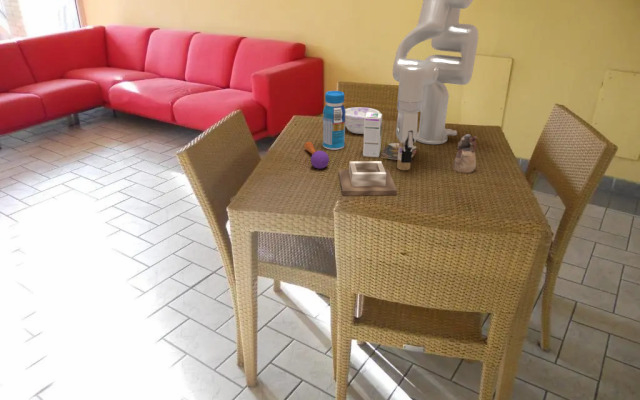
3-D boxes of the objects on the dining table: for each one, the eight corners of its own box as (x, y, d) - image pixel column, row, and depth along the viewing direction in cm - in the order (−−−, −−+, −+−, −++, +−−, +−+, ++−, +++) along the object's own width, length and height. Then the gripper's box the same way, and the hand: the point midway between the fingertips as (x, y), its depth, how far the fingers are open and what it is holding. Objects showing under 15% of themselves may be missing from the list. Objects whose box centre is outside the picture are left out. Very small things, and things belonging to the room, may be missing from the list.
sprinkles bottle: (394, 168, 161) (397, 129, 155) (401, 164, 164) (404, 126, 158) (405, 172, 158) (409, 132, 152) (413, 167, 161) (417, 129, 155)
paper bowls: (367, 122, 204) (368, 104, 201) (386, 133, 192) (387, 114, 188) (335, 127, 199) (335, 108, 195) (352, 138, 187) (352, 119, 183)
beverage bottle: (318, 148, 177) (319, 94, 168) (327, 141, 184) (327, 89, 175) (340, 151, 174) (342, 97, 165) (348, 144, 181) (350, 91, 172)
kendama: (318, 138, 175) (332, 154, 157) (315, 154, 177) (329, 172, 159) (302, 137, 173) (314, 152, 155) (299, 153, 175) (311, 170, 157)
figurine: (459, 163, 166) (464, 129, 160) (478, 169, 161) (484, 134, 156) (448, 168, 161) (453, 134, 156) (467, 175, 157) (473, 139, 151)
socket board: (387, 173, 157) (388, 157, 155) (396, 195, 143) (398, 178, 141) (338, 173, 157) (339, 157, 154) (342, 195, 142) (343, 178, 140)
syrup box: (379, 157, 169) (381, 117, 163) (362, 156, 170) (364, 116, 164) (380, 151, 174) (383, 112, 168) (364, 150, 175) (366, 111, 169)
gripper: (392, 98, 159) (388, 150, 167) (402, 113, 144) (397, 169, 152) (415, 98, 159) (410, 150, 167) (427, 113, 144) (421, 169, 152)
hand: (404, 158), depth 160 cm, fingers closed on sprinkles bottle, 4 cm apart
